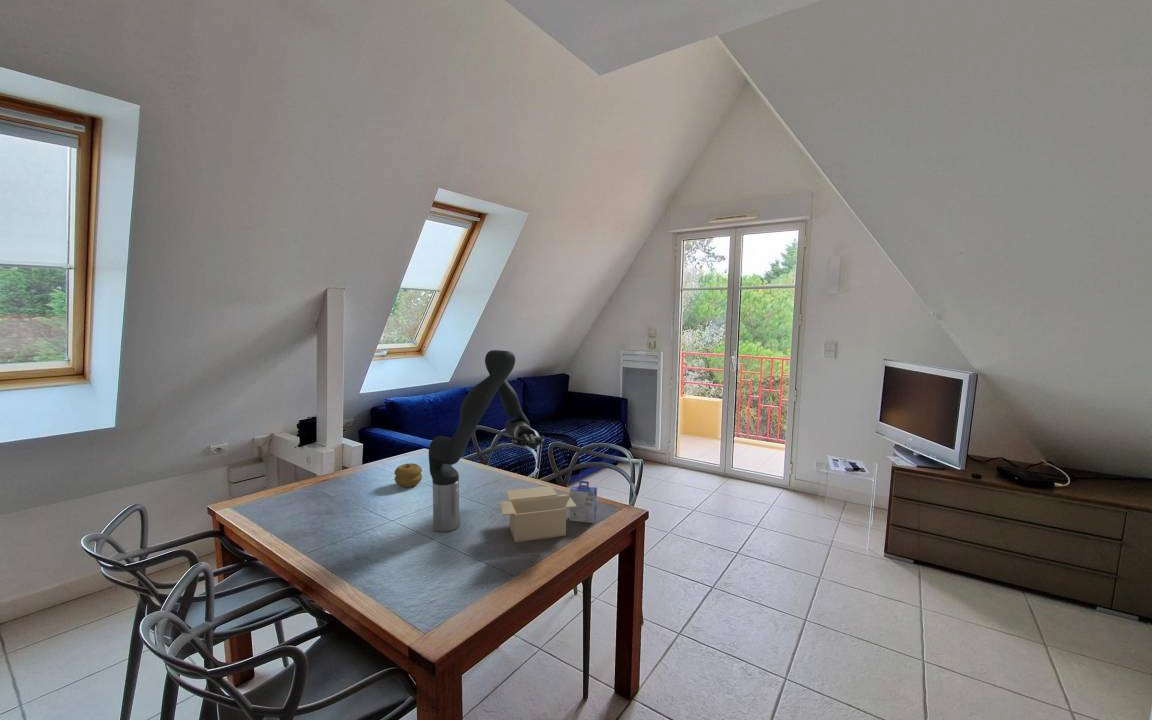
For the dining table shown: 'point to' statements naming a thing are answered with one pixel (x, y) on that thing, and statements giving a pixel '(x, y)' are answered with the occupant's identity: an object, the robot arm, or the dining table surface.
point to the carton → (535, 515)
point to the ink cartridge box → (583, 503)
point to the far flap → (542, 504)
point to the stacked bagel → (408, 475)
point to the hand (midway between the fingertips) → (533, 446)
